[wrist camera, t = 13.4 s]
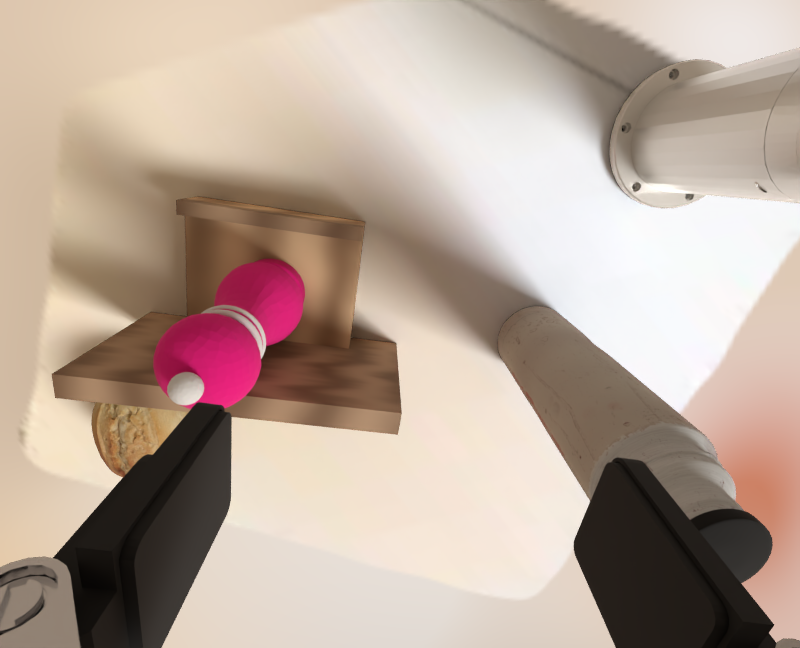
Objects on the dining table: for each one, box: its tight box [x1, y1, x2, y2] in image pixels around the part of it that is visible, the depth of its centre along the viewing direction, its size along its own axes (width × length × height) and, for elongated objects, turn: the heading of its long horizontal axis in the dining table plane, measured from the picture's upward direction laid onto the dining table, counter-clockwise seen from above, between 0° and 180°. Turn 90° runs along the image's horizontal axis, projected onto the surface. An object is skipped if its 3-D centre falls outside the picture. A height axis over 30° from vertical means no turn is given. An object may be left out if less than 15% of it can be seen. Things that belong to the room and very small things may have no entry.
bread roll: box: [92, 402, 188, 477], centre depth 44 cm, size 10×15×8 cm, turn 7°
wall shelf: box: [52, 196, 402, 435], centre depth 37 cm, size 26×14×14 cm, turn 81°
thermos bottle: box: [497, 306, 772, 583], centre depth 34 cm, size 8×8×28 cm
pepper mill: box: [153, 259, 305, 409], centre depth 31 cm, size 7×7×20 cm
